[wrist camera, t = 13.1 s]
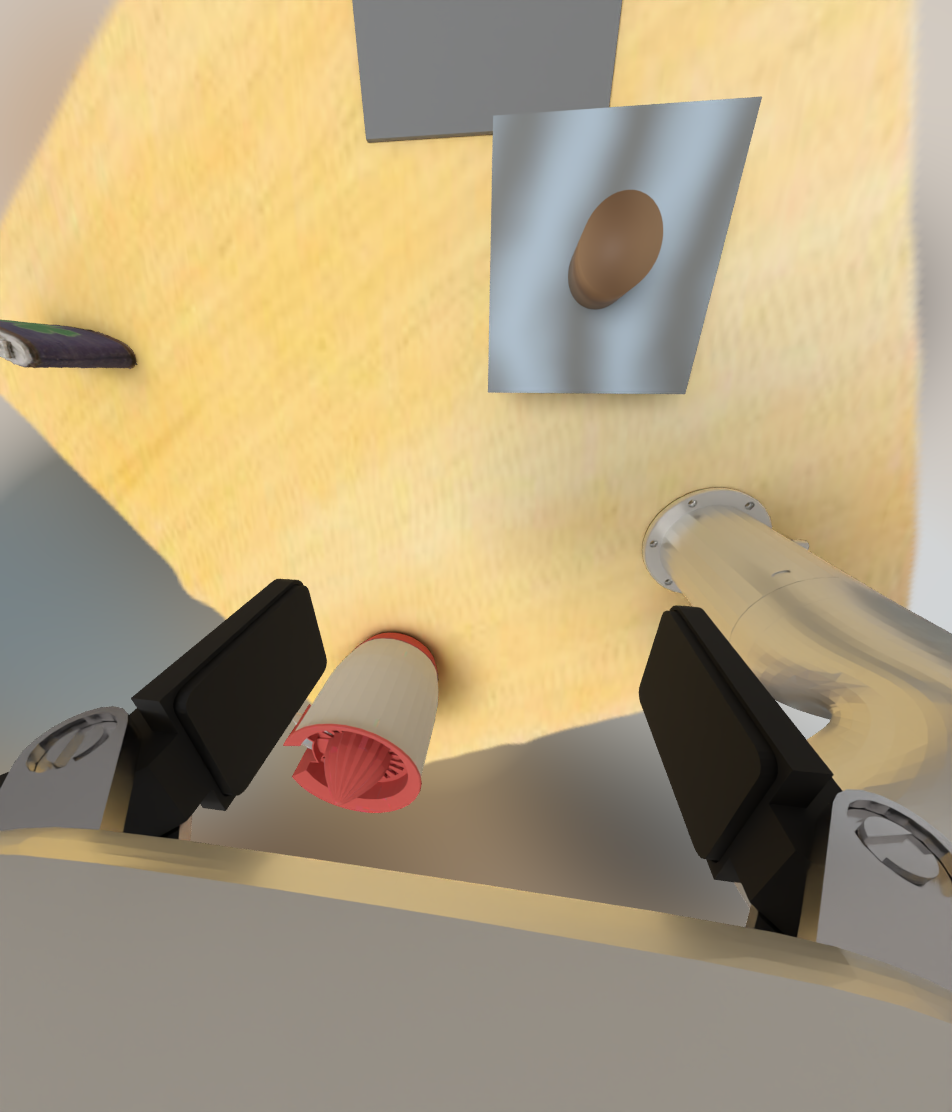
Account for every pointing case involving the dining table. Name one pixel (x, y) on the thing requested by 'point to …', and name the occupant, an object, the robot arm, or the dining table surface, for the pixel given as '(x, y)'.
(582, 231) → the lid
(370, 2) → the tray
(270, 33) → the dining table surface
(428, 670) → the citrus juicer
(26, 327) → the flask
